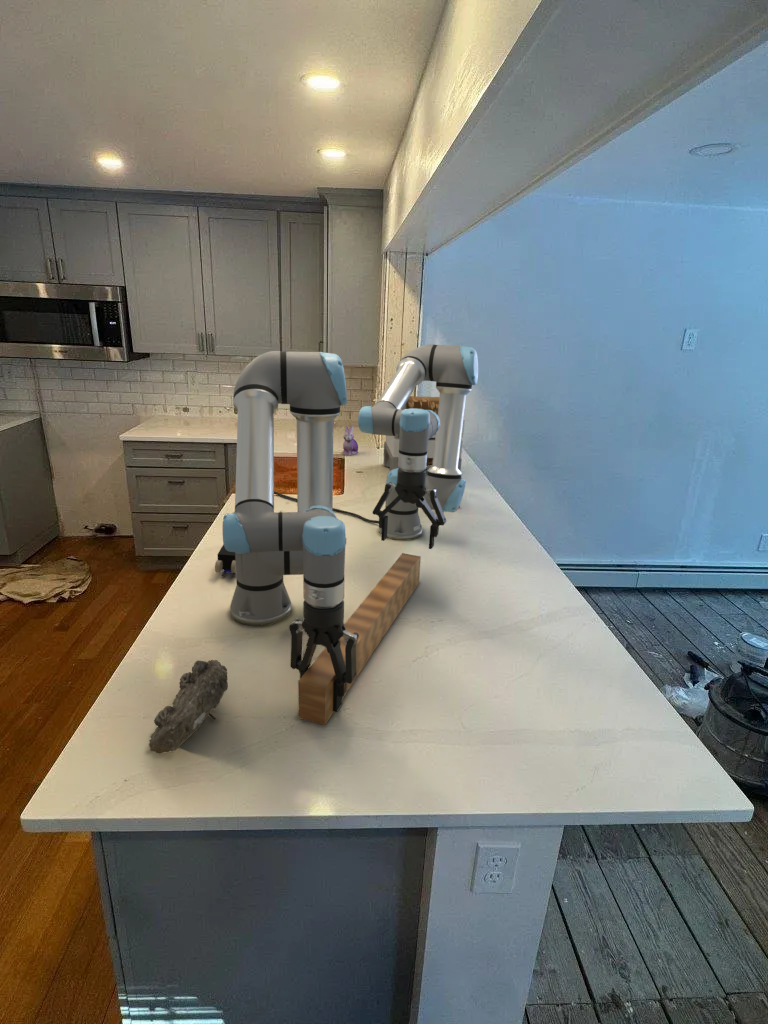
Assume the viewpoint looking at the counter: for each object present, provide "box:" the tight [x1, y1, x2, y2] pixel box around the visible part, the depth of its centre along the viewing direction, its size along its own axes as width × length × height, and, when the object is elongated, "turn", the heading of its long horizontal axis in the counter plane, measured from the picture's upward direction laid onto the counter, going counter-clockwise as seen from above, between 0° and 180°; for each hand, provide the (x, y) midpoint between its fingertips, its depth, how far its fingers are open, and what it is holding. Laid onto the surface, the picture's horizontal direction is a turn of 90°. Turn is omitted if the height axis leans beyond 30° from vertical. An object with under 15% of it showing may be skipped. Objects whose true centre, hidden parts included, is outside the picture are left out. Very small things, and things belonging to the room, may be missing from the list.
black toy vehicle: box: [214, 544, 236, 578], centre depth 166 cm, size 7×8×15 cm
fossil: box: [148, 659, 229, 754], centre depth 106 cm, size 22×10×15 cm
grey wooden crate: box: [383, 395, 465, 473], centre depth 268 cm, size 34×33×41 cm
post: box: [297, 552, 422, 726], centre depth 135 cm, size 64×6×8 cm, turn 161°
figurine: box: [342, 424, 359, 456], centre depth 303 cm, size 9×10×15 cm
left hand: (322, 703), depth 112 cm, fingers closed on post, 6 cm apart
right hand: (407, 543), depth 156 cm, fingers open, 13 cm apart
